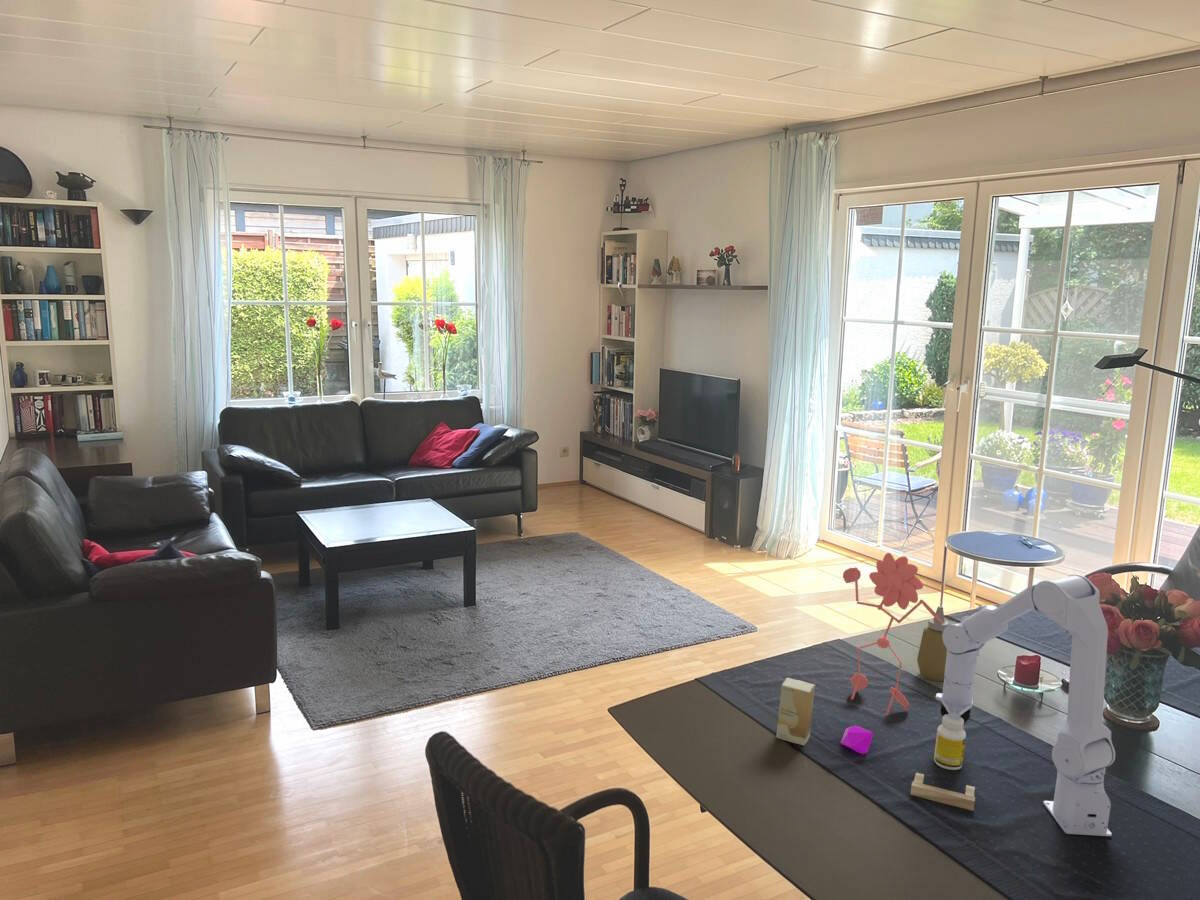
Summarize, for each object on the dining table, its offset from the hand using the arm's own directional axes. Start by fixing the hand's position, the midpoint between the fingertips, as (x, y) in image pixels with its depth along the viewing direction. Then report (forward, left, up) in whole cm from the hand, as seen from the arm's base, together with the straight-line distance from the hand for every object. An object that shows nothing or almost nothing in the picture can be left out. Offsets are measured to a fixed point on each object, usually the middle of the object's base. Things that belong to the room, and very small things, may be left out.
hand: (952, 739), depth 183 cm
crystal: (-3, +20, -2) cm, 20 cm away
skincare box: (0, +33, -2) cm, 33 cm away
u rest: (-19, +8, -2) cm, 20 cm away
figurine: (+20, +9, -2) cm, 22 cm away
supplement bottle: (-7, +3, -2) cm, 8 cm away
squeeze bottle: (+34, -6, -2) cm, 35 cm away
